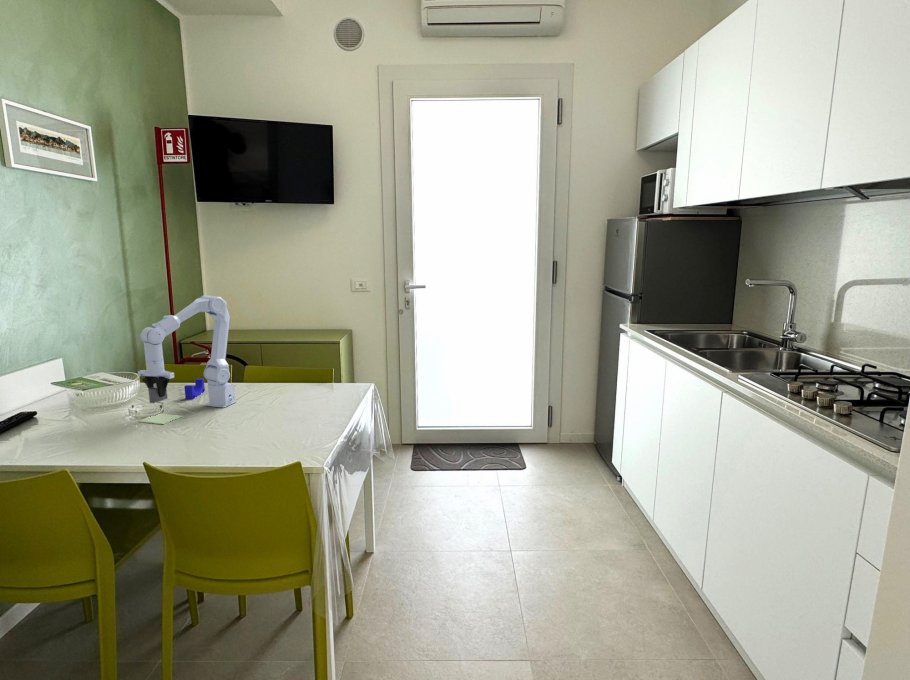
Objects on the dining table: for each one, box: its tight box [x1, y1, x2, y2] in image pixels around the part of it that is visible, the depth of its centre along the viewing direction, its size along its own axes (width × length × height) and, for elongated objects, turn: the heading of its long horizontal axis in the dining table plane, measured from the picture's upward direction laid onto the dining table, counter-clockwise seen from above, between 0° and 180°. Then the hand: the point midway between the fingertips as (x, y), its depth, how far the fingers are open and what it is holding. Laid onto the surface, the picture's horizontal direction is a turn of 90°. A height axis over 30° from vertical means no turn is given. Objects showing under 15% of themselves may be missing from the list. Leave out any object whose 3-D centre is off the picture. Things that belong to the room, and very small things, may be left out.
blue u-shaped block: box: [184, 378, 206, 400], centre depth 229 cm, size 12×4×6 cm, turn 2°
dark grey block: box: [147, 383, 168, 404], centre depth 197 cm, size 3×7×6 cm, turn 164°
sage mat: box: [138, 413, 183, 425], centre depth 199 cm, size 11×9×1 cm
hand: (158, 395), depth 197 cm, fingers closed on dark grey block, 3 cm apart
